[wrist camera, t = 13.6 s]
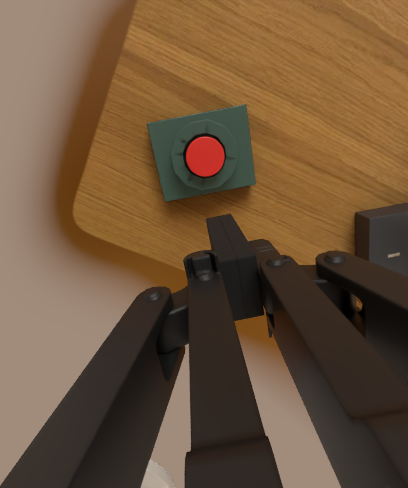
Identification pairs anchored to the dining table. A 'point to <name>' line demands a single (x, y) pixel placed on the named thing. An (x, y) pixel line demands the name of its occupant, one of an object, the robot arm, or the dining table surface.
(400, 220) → the dial panel
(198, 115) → the button block
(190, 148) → the red button
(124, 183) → the dining table surface
